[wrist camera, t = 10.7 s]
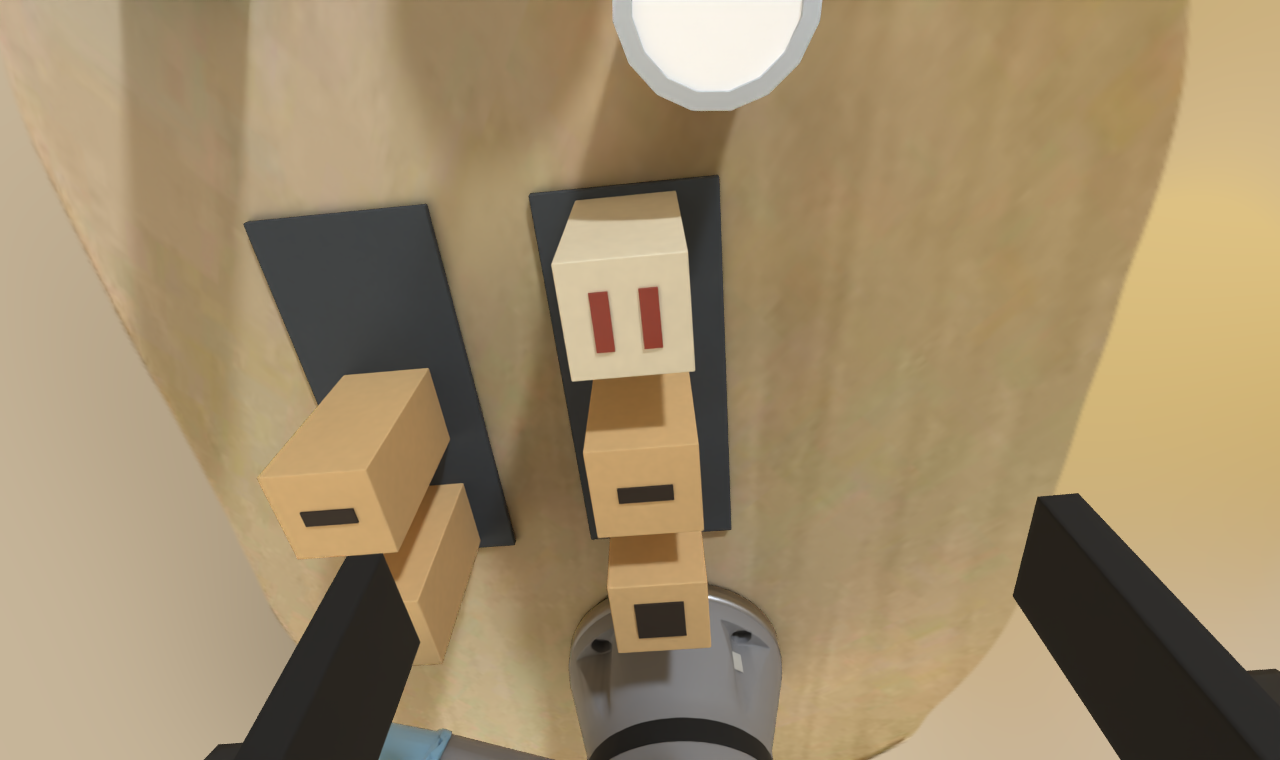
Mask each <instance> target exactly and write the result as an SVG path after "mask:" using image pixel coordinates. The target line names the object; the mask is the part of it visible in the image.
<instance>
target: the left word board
mask: <svg viewBox="0 0 1280 760" xmlns="http://www.w3.org/2000/svg"><path fill="white" fill-rule="evenodd" d="M244 227H245V229H246V232H247V234H248V237H249V239H250V241H251V244H252V246H253V249H254V251H255V254H256V256H257V258H258V261H259V263H260V266H261V268H262V270H263V273H264V275H265V278H266V280H267V283H268V285H269V287H270V290H271V292H272V295H273V297H274V299H275V302H276V304H277V307H278V309H279V312H280V314H281V316H282V319H283V321H284V324H285V326H286V328H287V331H288V333H289V336H290V338H291V340H292V343H293V345H294V348H295V350H296V353H297V355H298V357H299V360H300V362H301V365H302V367H303V369H304V372H305V374H306V377H307V379H308V382H309V384H310V386H311V389H312V391H313V394H314V396H315V398H316V401H317V403H318V406H317V408H316V409H315V410H314V411H313V412H312V413H311V415H310V416H309V417H308V418H307V419H306V421H305V422H304V423H303V424H302V425H301V426H300V428H299V429H298V430H297V431H296V432H295V434H294V435H293V436H292V437H291V438H290V439H289V441H288V442H287V443H286V444H285V445H284V447H283V448H282V449H281V450H280V451H279V452H278V454H277V455H276V456H275V457H274V458H273V460H272V461H271V462H270V463H269V464H268V465H267V467H266V468H265V469H264V470H263V471H262V473H261V474H260V475H259V476H258V477H257V480H258V482H259V484H260V486H261V488H262V490H263V492H264V494H265V496H266V498H267V499H268V501H269V503H270V505H271V507H272V509H273V511H274V513H275V515H276V517H277V519H278V521H279V523H280V525H281V527H282V529H283V531H284V533H285V535H286V537H287V539H288V541H289V543H290V545H291V547H292V549H293V551H294V553H295V555H296V557H297V559H309V558H324V557H338V556H355V555H366V554H378V553H383V555H384V557H385V559H386V562H387V564H388V567H389V569H390V571H391V574H392V576H393V578H394V581H395V583H396V585H397V588H398V590H399V592H400V595H401V597H402V600H403V602H404V604H405V607H406V609H407V611H408V614H409V616H410V618H411V621H412V623H413V626H414V628H415V630H416V633H417V635H418V637H419V640H420V645H419V648H418V651H417V653H416V656H415V659H414V662H413V665H412V666H419V665H436V664H442V663H443V660H444V657H445V653H446V650H447V647H448V644H449V641H450V637H451V634H452V631H453V628H454V625H455V621H456V618H457V615H458V612H459V609H460V605H461V602H462V599H463V596H464V593H465V589H466V586H467V583H468V580H469V577H470V573H471V570H472V567H473V564H474V561H475V557H476V554H477V551H478V548H480V547H494V546H509V545H515V542H516V540H515V536H514V532H513V528H512V524H511V521H510V517H509V513H508V509H507V506H506V502H505V498H504V494H503V490H502V487H501V483H500V479H499V475H498V471H497V468H496V464H495V460H494V456H493V452H492V449H491V445H490V441H489V437H488V433H487V430H486V426H485V422H484V418H483V415H482V411H481V407H480V403H479V399H478V396H477V392H476V388H475V384H474V380H473V377H472V373H471V369H470V365H469V361H468V358H467V354H466V350H465V346H464V342H463V339H462V335H461V331H460V327H459V323H458V320H457V316H456V312H455V308H454V305H453V301H452V297H451V293H450V289H449V286H448V282H447V278H446V274H445V270H444V267H443V263H442V259H441V255H440V251H439V248H438V244H437V240H436V236H435V232H434V229H433V225H432V221H431V217H430V214H429V210H428V206H427V204H420V205H410V206H400V207H390V208H379V209H369V210H359V211H349V212H339V213H329V214H319V215H309V216H299V217H289V218H279V219H269V220H259V221H249V222H246V223H244Z"/></svg>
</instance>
